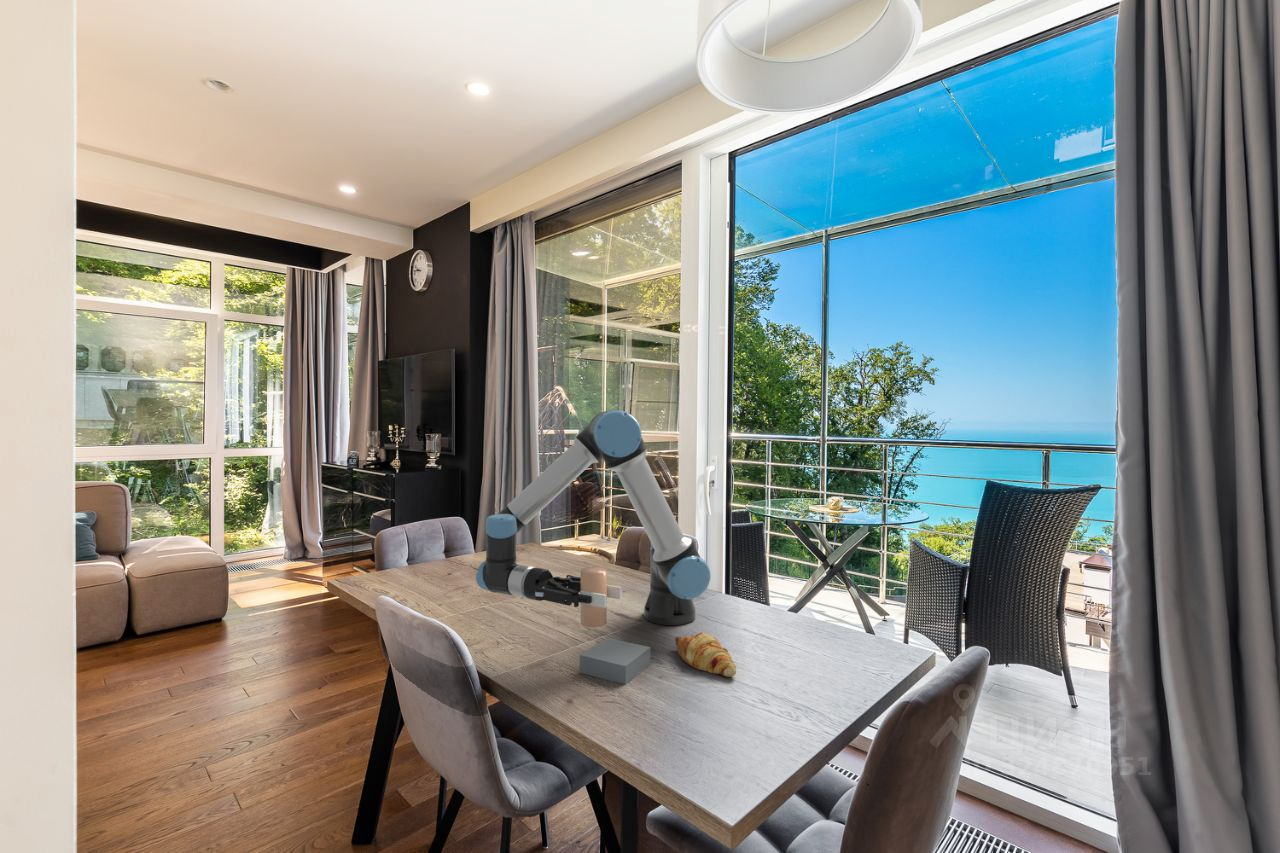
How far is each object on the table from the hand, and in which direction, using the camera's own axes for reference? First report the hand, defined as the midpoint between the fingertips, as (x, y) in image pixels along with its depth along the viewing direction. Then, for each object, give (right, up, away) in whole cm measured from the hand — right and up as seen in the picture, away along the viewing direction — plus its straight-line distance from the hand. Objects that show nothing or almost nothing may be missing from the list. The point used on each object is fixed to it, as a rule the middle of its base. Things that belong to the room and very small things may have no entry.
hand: (613, 597), depth 130 cm
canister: (-5, -7, +3) cm, 8 cm away
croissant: (+21, -18, +7) cm, 29 cm away
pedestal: (0, -18, +4) cm, 18 cm away
